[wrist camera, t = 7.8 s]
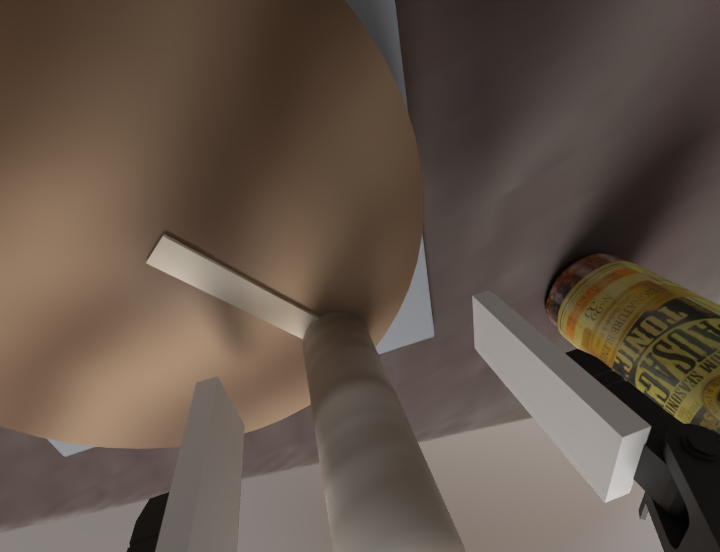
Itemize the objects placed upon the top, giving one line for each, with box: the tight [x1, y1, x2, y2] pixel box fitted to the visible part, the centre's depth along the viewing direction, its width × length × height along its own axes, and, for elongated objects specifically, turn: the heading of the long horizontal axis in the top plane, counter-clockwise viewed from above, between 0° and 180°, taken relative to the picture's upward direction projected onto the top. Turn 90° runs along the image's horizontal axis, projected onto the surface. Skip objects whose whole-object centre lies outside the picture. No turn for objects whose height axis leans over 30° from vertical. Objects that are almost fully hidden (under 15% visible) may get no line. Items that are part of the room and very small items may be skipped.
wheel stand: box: [46, 0, 434, 457], centre depth 16 cm, size 22×22×1 cm
